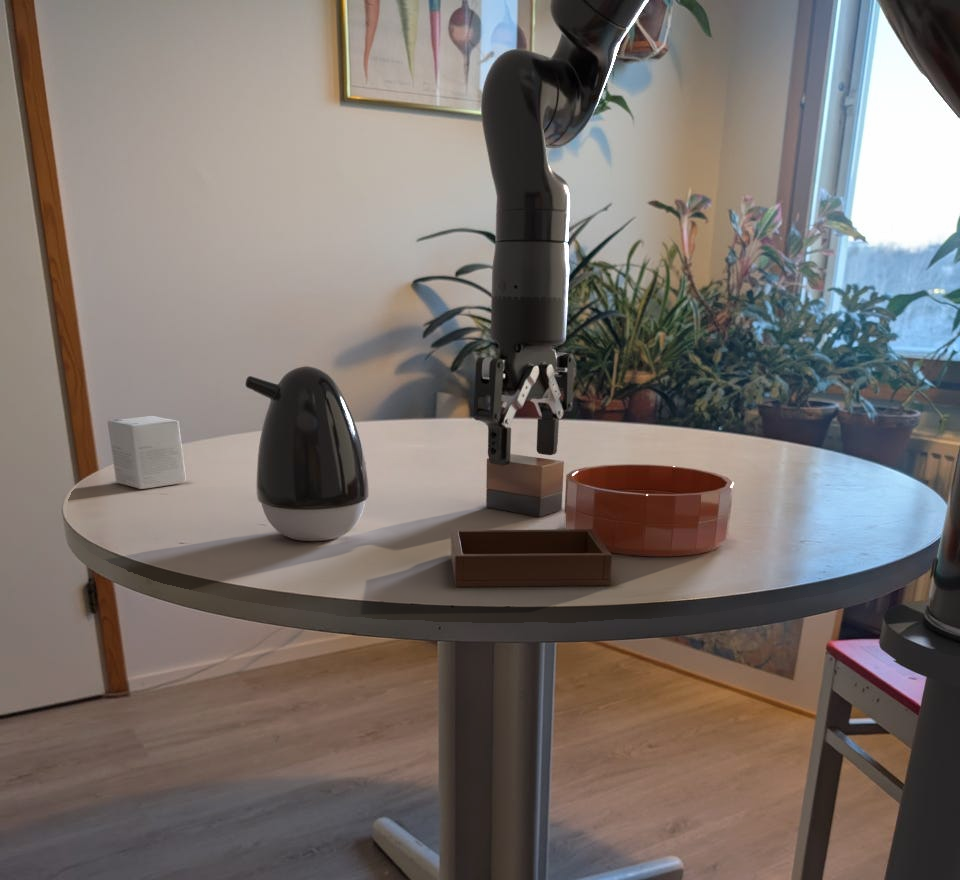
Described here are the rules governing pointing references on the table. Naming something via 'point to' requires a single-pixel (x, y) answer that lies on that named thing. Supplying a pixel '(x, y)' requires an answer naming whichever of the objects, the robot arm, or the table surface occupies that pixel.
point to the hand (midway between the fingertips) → (523, 459)
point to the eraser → (525, 485)
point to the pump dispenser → (309, 457)
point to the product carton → (147, 451)
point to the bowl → (650, 508)
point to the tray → (529, 558)
